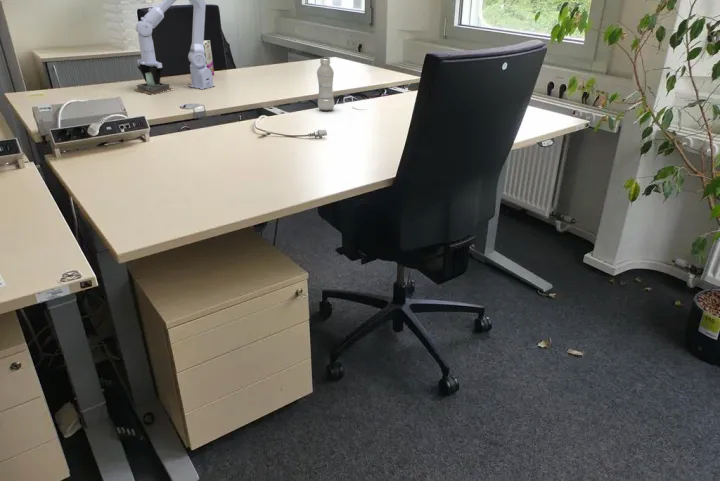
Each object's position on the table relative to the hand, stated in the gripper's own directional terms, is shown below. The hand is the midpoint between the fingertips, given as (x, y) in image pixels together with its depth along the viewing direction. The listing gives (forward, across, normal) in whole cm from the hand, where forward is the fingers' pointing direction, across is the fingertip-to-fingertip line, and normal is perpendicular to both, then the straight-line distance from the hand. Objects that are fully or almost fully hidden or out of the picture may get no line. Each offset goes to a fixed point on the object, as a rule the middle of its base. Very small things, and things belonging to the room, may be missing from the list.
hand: (152, 82), depth 241 cm
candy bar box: (+4, -4, +34) cm, 34 cm away
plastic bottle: (+4, +81, +21) cm, 84 cm away
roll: (+3, 0, 0) cm, 3 cm away
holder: (+3, 0, 0) cm, 3 cm away
